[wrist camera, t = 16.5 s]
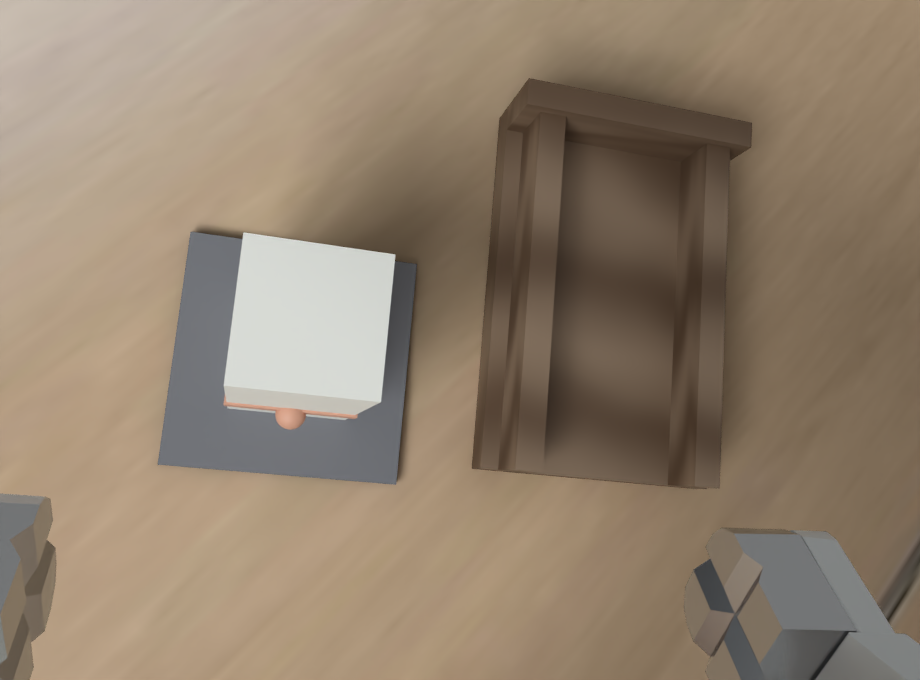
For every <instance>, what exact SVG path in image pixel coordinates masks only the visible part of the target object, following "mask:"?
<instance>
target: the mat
mask: <svg viewBox="0 0 920 680" xmlns="http://www.w3.org/2000/svg"><path fill="white" fill-rule="evenodd" d="M242 240H243V239H238V238H231V237H224V236H218V235H211V234H204V233H197V232H191V233H190V240H189V247H188V254H187V261H186V268H185V275H184V282H183V289H182V296H181V303H180V311H179V318H178V325H177V332H176V339H175V346H174V353H173V360H172V367H171V374H170V381H169V388H168V396H167V403H166V410H165V417H164V424H163V431H162V438H161V445H160V452H159V459H158V465H170V466H182V467H194V468H205V469H217V470H229V471H241V472H253V473H265V474H277V475H289V476H300V477H312V478H324V479H336V480H348V481H360V482H372V483H383V484H395V485H396V480H397V470H398V459H399V448H400V438H401V427H402V416H403V406H404V395H405V384H406V374H407V363H408V353H409V342H410V331H411V321H412V310H413V299H414V289H415V278H416V267H417V264H412V263H405V262H398V261H395V264H394V275H393V285H392V295H391V305H390V315H389V326H388V336H387V346H386V356H385V367H384V377H383V387H382V397H381V402H380V403H378V404H376V405H374V406H372V407H370V408H368V409H366V410H364V411H362V412H360V413H358V416H357V418H356V419H349V418H348V419H346V420H339V419H329V418H319V417H309V416H306V418H305V421H304V423H303V424H302V425H301V426H300V427H298V428H296V429H292V430H289V429H285V428H283V427H281V426H280V425H279V424H278V423H277V421H276V417H275V413H269V412H259V411H249V410H239V409H229V408H227V406H224V397H225V391H224V379H225V371H226V363H227V355H228V348H229V340H230V332H231V325H232V317H233V309H234V301H235V294H236V286H237V278H238V271H239V263H240V255H241V247H242Z"/></svg>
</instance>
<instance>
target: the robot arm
mask: <svg viewBox="0 0 920 680" xmlns="http://www.w3.org/2000/svg"><path fill="white" fill-rule="evenodd" d="M52 522H53V516H52V508H51V500H50V499H49V498H47V497H42V496H28V495H13V494H0V680H30V677H31V674H32V671H33V668H34V665H33V656H32V646H31V642H32V641H34V640H35V639H36V638H37V637H38V636H39V635H41V634H42V633H43V632H44V631H45V628H46V624H47V621H48V617H49V614H50V610H51V605H52V600H53V594H54V588H55V582H56V549H55V547H54V546H53V545H52V544H51V543H50V542H49V541H47V537H48V534H49V531H50V528H51V525H52ZM706 550H707V552H708V555H709V557H710V559H709V560H707V561H706V562H704V563H703V564H701V565H700V566H698V567H697V568H695V569H694V570H693V572H692V574H691V576H690V578H689V581H688V583H687V585H686V587H685V599H684V611H685V617H686V623H687V626H688V629H689V631H690V634H691V637H692V639H693V641H694V642H695V643H696V644H697V645H698V646H699V647H700V648H701V649H703V650H704V651H705V652H706V653H707V654H708V655H709V656H710V658H709V661H708V665H707V668H706V671H705V672H706V674H707V677H708V679H709V680H920V644H918V643H917V642H916V641H914V640H913V639H912V638H910V637H909V636H908V635H906V634H899V633H895V632H894V631H893V629H892V627H891V626H890V624H889V623H888V621H887V619H886V618H885V616H884V615H883V613H882V612H881V610H880V608H879V607H878V605H877V604H876V602H875V600H874V599H873V597H872V596H871V594H870V592H869V591H868V589H867V588H866V586H865V584H864V583H863V581H862V580H861V578H860V576H859V575H858V573H857V572H856V570H855V569H854V567H853V565H852V564H851V562H850V561H849V559H848V557H847V556H846V554H845V553H844V551H843V549H842V548H841V546H840V545H839V543H838V541H837V540H836V539H835V538H834V537H833V536H831V535H830V534H829V533H827V532H824V531H799V530H791V531H788V530H778V529H749V528H720V529H719V530H718V531H716V532H715V533H713V534H712V536H711V538H710V540H709V542H708V543H707V545H706Z"/></svg>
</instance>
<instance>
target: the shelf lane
mask: <svg viewBox="0 0 920 680" xmlns="http://www.w3.org/2000/svg"><path fill="white" fill-rule="evenodd" d="M751 137H752V123H750V122H745V121H740V120H735V119H730V118H725V117H720V116H715V115H710V114H705V113H700V112H695V111H690V110H685V109H680V108H675V107H670V106H665V105H660V104H655V103H650V102H645V101H640V100H635V99H630V98H625V97H620V96H615V95H610V94H605V93H600V92H595V91H590V90H585V89H580V88H575V87H570V86H565V85H560V84H555V83H550V82H545V81H540V80H535V79H530V78H529V79H528V81H527V82H526V83H525V85H524V86H523V87H522V89H521V90H520V91H519V93H518V94H517V96H516V97H515V98H514V100H513V101H512V102H511V104H510V105H509V106H508V108H507V109H506V110H505V112H504V113H503V115H502V116H501V117H500V120H499V133H498V145H497V158H496V170H495V183H494V196H493V208H492V221H491V233H490V246H489V259H488V271H487V284H486V296H485V309H484V321H483V334H482V347H481V359H480V372H479V384H478V397H477V410H476V422H475V435H474V447H473V460H472V469H482V470H493V471H504V472H515V473H526V474H537V475H548V476H559V477H570V478H582V479H593V480H604V481H615V482H626V483H637V484H648V485H659V486H670V487H681V488H695V489H707V488H720V459H721V426H722V394H723V361H724V328H725V296H726V263H727V231H728V198H729V165H730V160H732V159H733V158H735V157H736V156H738V155H740V154H741V153H743V152H744V151H746V150H747V149H749V148H751Z"/></svg>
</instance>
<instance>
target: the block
mask: <svg viewBox="0 0 920 680" xmlns="http://www.w3.org/2000/svg"><path fill="white" fill-rule="evenodd" d="M394 264H395V254H389V253H382V252H375V251H368V250H361V249H354V248H347V247H340V246H333V245H327V244H320V243H313V242H306V241H299V240H292V239H285V238H278V237H271V236H264V235H258V234H251V233H244V232H243V240H242V247H241V255H240V263H239V271H238V278H237V286H236V294H235V301H234V309H233V317H232V325H231V332H230V340H229V348H228V355H227V363H226V371H225V379H224V391H225V397H224V406H227V408H229V409H239V410H249V411H259V412H269V413H275V417H276V421H277V423H278V424H279V425H280V426H281V427H283V428H285V429H289V430H292V429H296V428H298V427H300V426H301V425H302V424H303V423H304V421H305V418H306V416H309V417H319V418H329V419H339V420H346V419H348V418H349V419H356V418H357V416H358V413H360V412H362V411H364V410H366V409H368V408H370V407H372V406H374V405H376V404H378V403H380V402H381V397H382V387H383V377H384V367H385V356H386V346H387V336H388V326H389V315H390V305H391V295H392V285H393V275H394Z"/></svg>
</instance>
